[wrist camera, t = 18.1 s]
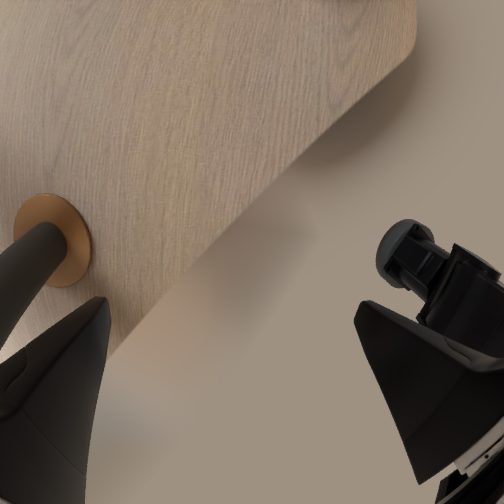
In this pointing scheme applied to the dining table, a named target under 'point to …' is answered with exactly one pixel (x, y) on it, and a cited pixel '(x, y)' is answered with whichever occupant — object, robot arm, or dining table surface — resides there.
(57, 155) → the dining table surface
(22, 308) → the salt mill
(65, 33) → the dining table surface
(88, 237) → the coaster
